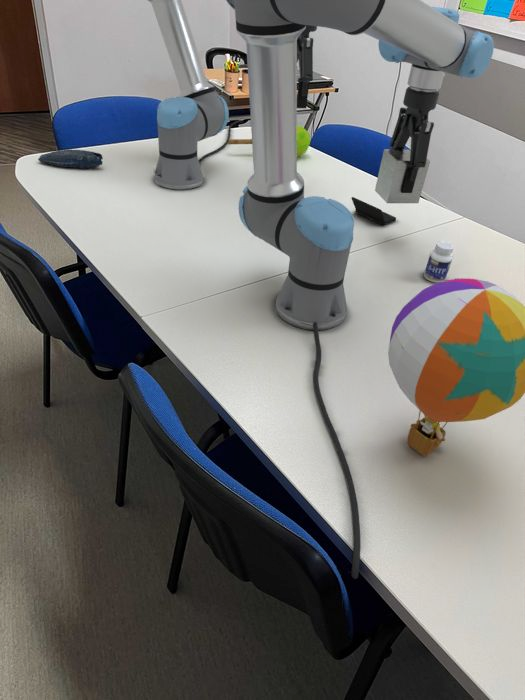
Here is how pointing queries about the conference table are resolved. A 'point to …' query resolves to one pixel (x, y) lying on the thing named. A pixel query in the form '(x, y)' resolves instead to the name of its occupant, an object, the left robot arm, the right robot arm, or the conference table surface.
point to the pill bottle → (439, 262)
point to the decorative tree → (302, 140)
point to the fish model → (72, 158)
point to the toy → (458, 355)
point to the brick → (398, 177)
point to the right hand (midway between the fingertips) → (398, 185)
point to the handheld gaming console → (372, 212)
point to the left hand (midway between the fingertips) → (294, 101)
